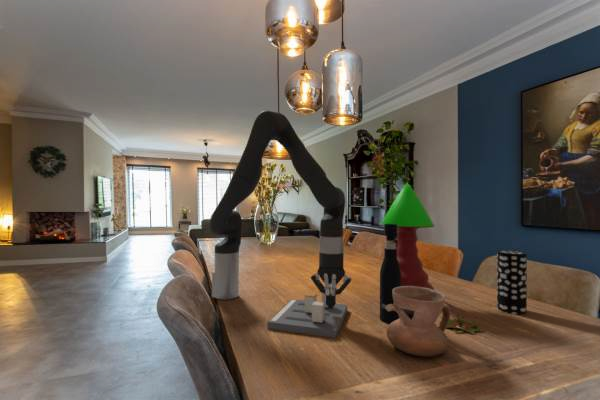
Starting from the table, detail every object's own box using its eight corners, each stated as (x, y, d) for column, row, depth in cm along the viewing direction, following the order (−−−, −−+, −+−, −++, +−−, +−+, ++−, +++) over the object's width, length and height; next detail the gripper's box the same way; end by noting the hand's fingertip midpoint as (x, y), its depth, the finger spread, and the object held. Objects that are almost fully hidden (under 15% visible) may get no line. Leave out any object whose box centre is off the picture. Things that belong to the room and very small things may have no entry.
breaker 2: (321, 306, 99) (322, 291, 99) (323, 303, 102) (323, 289, 102) (330, 307, 98) (331, 292, 98) (332, 304, 101) (332, 290, 101)
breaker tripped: (304, 312, 94) (304, 295, 94) (307, 308, 97) (307, 292, 97) (314, 313, 93) (314, 296, 93) (316, 309, 96) (316, 293, 96)
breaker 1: (311, 321, 86) (312, 304, 87) (314, 317, 89) (314, 301, 89) (322, 322, 86) (322, 305, 86) (324, 318, 88) (324, 302, 89)
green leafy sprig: (464, 319, 96) (464, 305, 96) (494, 336, 85) (494, 319, 85) (430, 321, 94) (430, 307, 94) (456, 339, 83) (456, 322, 83)
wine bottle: (401, 317, 97) (401, 223, 97) (400, 325, 90) (401, 225, 91) (380, 315, 99) (380, 223, 99) (378, 322, 93) (379, 224, 93)
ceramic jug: (399, 366, 67) (401, 303, 68) (372, 337, 82) (374, 284, 82) (470, 361, 71) (472, 300, 71) (432, 334, 85) (434, 283, 85)
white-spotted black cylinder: (523, 308, 106) (523, 251, 106) (529, 316, 98) (529, 255, 99) (495, 304, 109) (495, 249, 110) (499, 312, 102) (499, 253, 102)
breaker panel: (267, 328, 87) (267, 321, 87) (291, 304, 108) (291, 298, 108) (335, 338, 81) (335, 330, 81) (347, 310, 102) (347, 304, 102)
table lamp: (370, 297, 118) (370, 182, 118) (397, 288, 131) (398, 184, 131) (418, 310, 103) (418, 179, 103) (443, 299, 116) (444, 182, 116)
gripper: (307, 251, 92) (306, 308, 91) (351, 253, 88) (350, 313, 88) (313, 248, 99) (313, 301, 99) (354, 250, 95) (353, 305, 95)
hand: (330, 306), depth 93 cm, fingers closed
